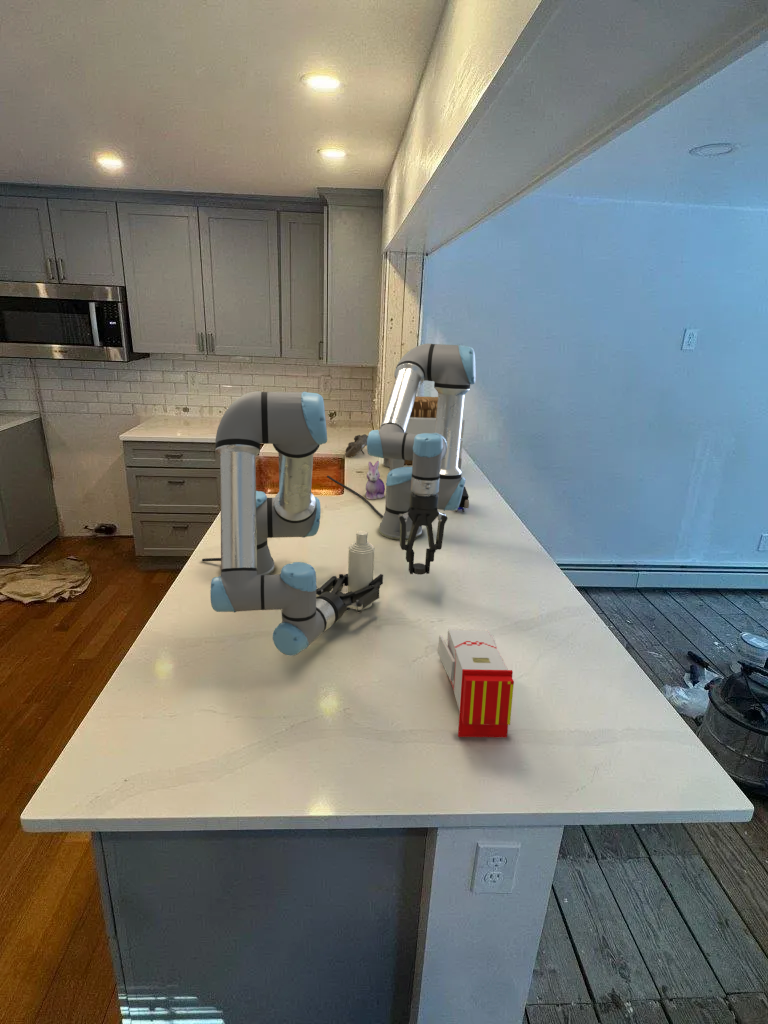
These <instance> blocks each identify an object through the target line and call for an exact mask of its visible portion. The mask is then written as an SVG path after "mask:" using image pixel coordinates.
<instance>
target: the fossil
mask: <svg viewBox="0 0 768 1024" xmlns="http://www.w3.org/2000/svg"><path fill="white" fill-rule="evenodd" d="M367 439H368V434H365V433H364V434H362V435H361V434H357V435H355V436H354V437H353V440H354V441H350V442H348V444H347V445H348V446H347V447H346V449H345V453H344V455H345V457H346V458H352V457H355V456H356V455H358V454H359V453H361V452H362V454H363V455H364V454H365V453H364V451H363V450H364V449H365V447H367Z"/></svg>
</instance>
